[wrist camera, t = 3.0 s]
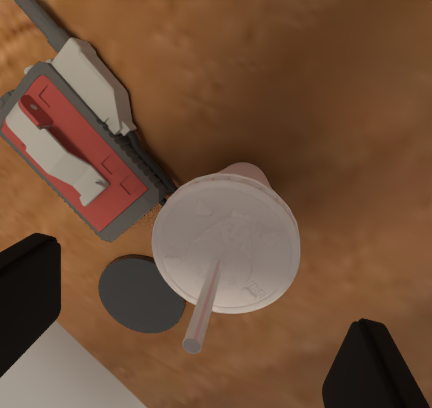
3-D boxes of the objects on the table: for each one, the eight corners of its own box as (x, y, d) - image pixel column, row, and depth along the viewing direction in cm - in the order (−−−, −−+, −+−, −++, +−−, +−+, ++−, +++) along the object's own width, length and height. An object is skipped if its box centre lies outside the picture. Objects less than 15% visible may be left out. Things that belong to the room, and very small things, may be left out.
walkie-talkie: (208, 180, 21) (2, -63, 18) (194, 199, 17) (-77, -111, 14) (132, 242, 24) (-56, 44, 21) (104, 271, 20) (-134, 30, 17)
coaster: (103, 244, 25) (100, 248, 24) (192, 268, 24) (190, 272, 23) (100, 315, 28) (96, 319, 27) (178, 338, 27) (176, 343, 26)
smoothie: (187, 206, 22) (72, 357, 9) (219, 127, 20) (122, 182, 7) (263, 240, 22) (255, 443, 9) (304, 165, 19) (374, 296, 7)
